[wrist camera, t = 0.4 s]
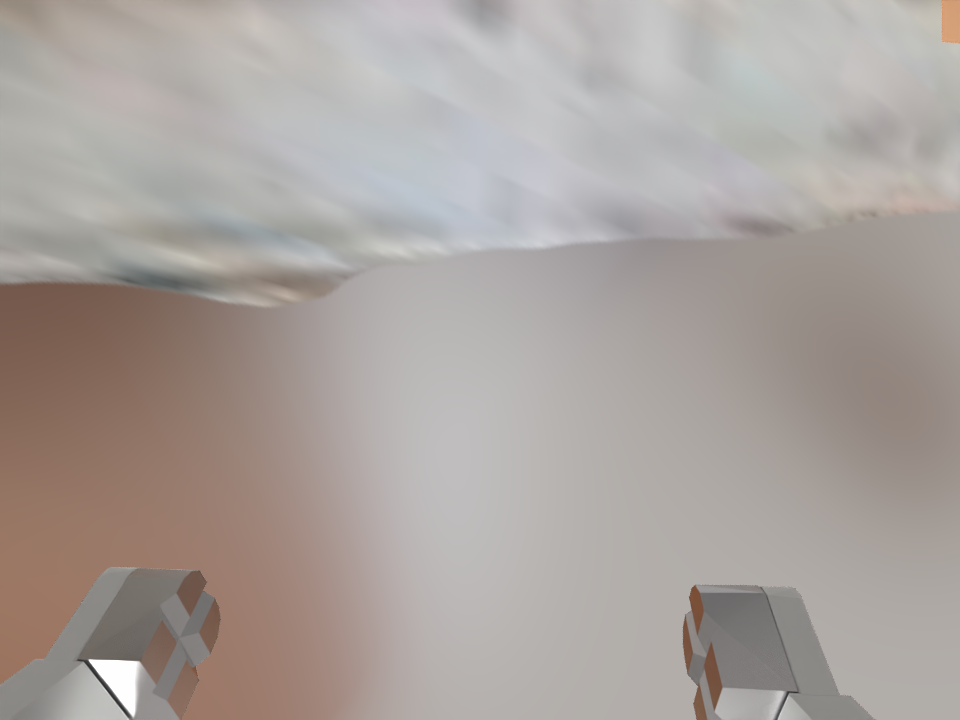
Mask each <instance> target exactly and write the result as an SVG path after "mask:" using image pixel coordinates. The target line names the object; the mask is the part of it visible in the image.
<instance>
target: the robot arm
mask: <svg viewBox="0 0 960 720" xmlns="http://www.w3.org/2000/svg"><path fill="white" fill-rule="evenodd" d="M206 583H207V582H206V580H205V578H204V577H203V575H202V574H201V572H200V571H197V570H171V569H147V568H130V567H110V568H108V569H107V570H106V571H105V572H103V573H102V574H101V575H100V576H99V577H98V579H97V580H96V582H95V583H94V585H93V586H92V588H91V589H90V591H89V592H88V594H87V595H86V597H85V598H84V600H83V601H82V603H81V604H80V606H79V607H78V609H77V610H76V612H75V613H74V615H73V616H72V618H71V619H70V621H69V622H68V624H67V625H66V627H65V628H64V630H63V631H62V633H61V634H60V636H59V637H58V639H57V640H56V642H55V643H54V645H53V647H52V648H51V649H50V651H49V653H48V654H47V655H46V657H45V658H44V659H35V660H33V661H32V662H31V663H29V664H28V665H27V666H25V667H24V668H22V669H21V670H20V671H18V672H17V673H16V674H14V675H13V676H12V677H10V678H9V679H7V680H6V681H5V682H3V683H2V684H1V685H0V720H182V717H183V715H184V713H185V711H186V708H187V706H188V704H189V701H190V699H191V697H192V695H193V693H194V690H195V688H196V686H197V683H198V681H199V679H198V674H197V670H196V666H197V665H198V664H200V663H201V662H202V661H203V660H204V659H205V658H207V657H208V656H209V655H210V654H211V652H212V649H213V647H214V644H215V642H216V640H217V637H218V631H219V625H220V620H221V619H220V611H219V606H218V604H217V602H216V600H215V598H214V597H212V596H211V595H209V594H207V593H206V592H205V591H203V589H204V587H205V585H206ZM689 599H690V604H691V609H692V610H691V611H690V612H688V613H687V614H685V619H684V625H683V648H684V656H685V663H686V668H687V674H688V676H689V677H691V679H692V680H693V681H694V682H695V683H696V685H697V686H698V688H697V692H696V696H695V700H694V703H693V704H694V709H695V714H696V719H697V720H875V719H874V718H873V717H872V716H871V715H870V714H869V713H868V712H867V711H866V710H865V709H864V708H862V706H860V705H859V704H858V703H857V702H856V701H855V700H854V699H853V698H852V697H851V696H846V695H840V694H839V692H838V689H837V686H836V684H835V682H834V679H833V676H832V674H831V671H830V669H829V666H828V664H827V661H826V658H825V656H824V653H823V651H822V648H821V646H820V643H819V641H818V638H817V636H816V633H815V630H814V628H813V625H812V623H811V620H810V618H809V615H808V612H807V610H806V607H805V605H804V603H803V600H802V597H801V595H800V594H799V593H798V591H797V590H796V589H795V588H792V587H759V586H749V585H748V586H747V585H694V586H693V587H692V589H691V593H690V596H689Z"/></svg>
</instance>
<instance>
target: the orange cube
mask: <svg viewBox="0 0 960 720" xmlns="http://www.w3.org/2000/svg"><path fill="white" fill-rule="evenodd" d="M942 42H950V43H960V0H942Z"/></svg>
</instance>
